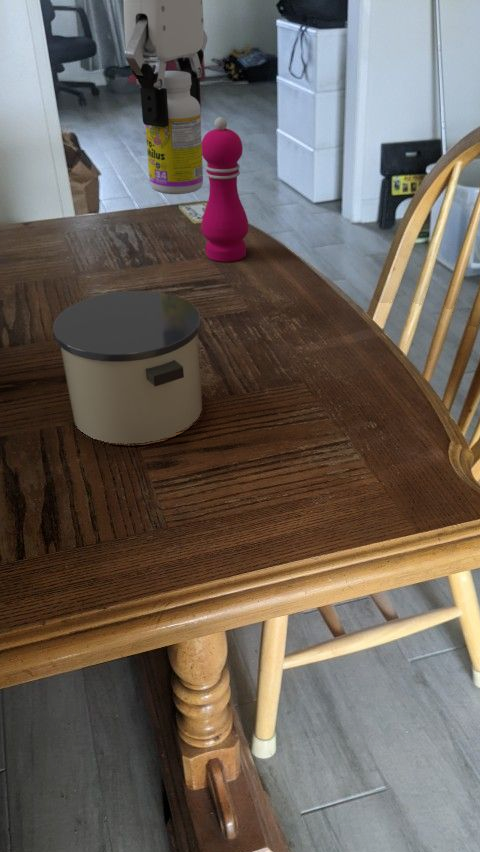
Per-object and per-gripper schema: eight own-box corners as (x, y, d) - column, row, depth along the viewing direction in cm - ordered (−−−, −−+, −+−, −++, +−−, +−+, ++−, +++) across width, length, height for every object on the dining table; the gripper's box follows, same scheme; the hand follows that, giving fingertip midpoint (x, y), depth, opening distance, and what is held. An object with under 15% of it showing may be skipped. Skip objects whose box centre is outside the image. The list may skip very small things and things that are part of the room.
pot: (109, 471, 77) (93, 374, 70) (45, 397, 88) (27, 308, 81) (236, 424, 83) (233, 332, 77) (162, 361, 94) (154, 276, 88)
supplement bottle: (142, 184, 99) (133, 71, 91) (191, 178, 101) (186, 67, 94) (160, 198, 94) (152, 80, 87) (211, 192, 97) (208, 76, 89)
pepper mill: (194, 259, 121) (185, 120, 109) (216, 243, 126) (210, 109, 114) (235, 266, 118) (231, 125, 106) (256, 250, 124) (254, 114, 112)
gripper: (174, -66, 90) (182, 103, 101) (83, -63, 77) (103, 130, 88) (232, -64, 87) (234, 109, 98) (147, -60, 75) (160, 138, 85)
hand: (172, 117), depth 93 cm, fingers closed on supplement bottle, 6 cm apart
